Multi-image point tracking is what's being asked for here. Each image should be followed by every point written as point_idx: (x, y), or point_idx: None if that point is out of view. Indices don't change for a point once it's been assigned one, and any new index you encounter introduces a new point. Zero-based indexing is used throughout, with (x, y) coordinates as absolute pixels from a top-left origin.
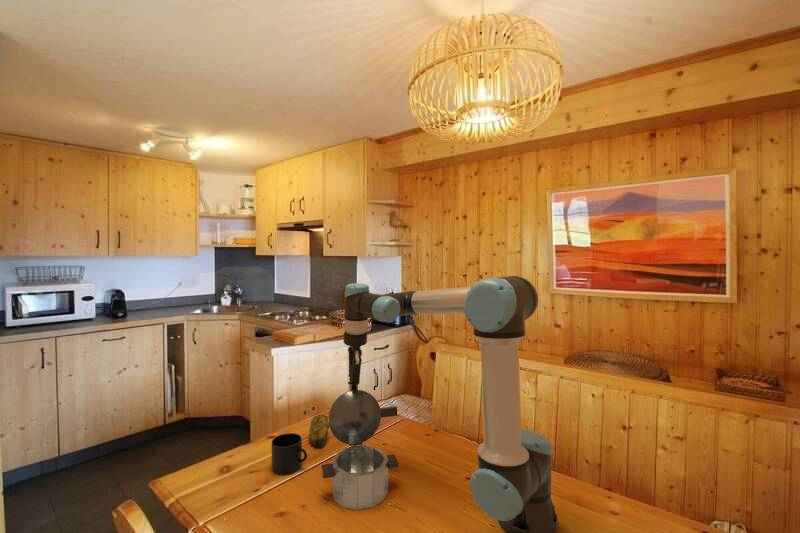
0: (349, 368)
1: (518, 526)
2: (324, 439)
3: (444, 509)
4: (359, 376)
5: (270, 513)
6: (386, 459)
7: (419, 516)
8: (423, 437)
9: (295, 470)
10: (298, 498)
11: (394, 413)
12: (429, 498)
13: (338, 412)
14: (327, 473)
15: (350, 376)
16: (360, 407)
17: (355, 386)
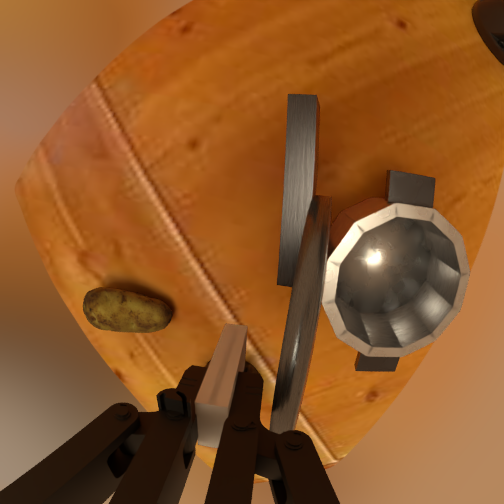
0: (113, 491)
1: None
2: (162, 306)
3: (478, 122)
4: (338, 501)
5: (362, 407)
6: (433, 214)
7: (483, 175)
8: (196, 41)
9: (256, 371)
10: (346, 373)
11: (318, 117)
12: (449, 129)
13: (300, 404)
14: (397, 362)
15: (186, 474)
16: (315, 323)
17: (259, 418)
